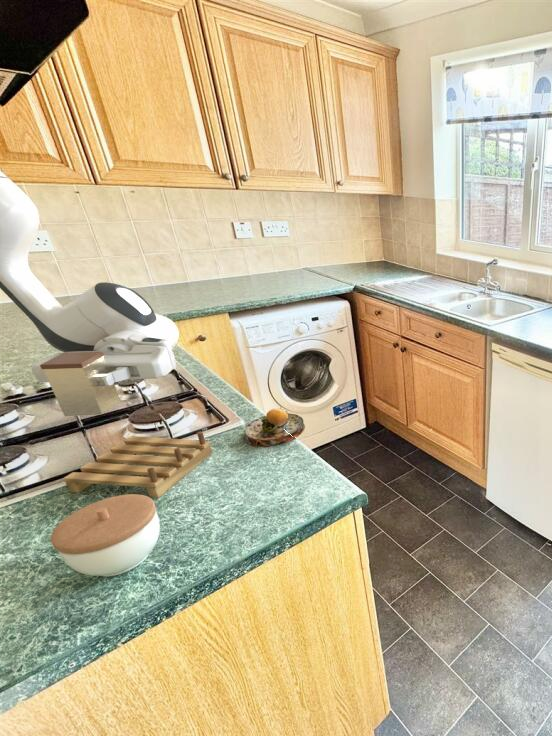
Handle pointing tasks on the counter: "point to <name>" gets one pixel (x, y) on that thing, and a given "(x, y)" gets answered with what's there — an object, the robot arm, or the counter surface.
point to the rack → (135, 445)
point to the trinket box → (108, 535)
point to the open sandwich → (274, 428)
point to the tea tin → (80, 383)
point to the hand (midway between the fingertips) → (79, 383)
